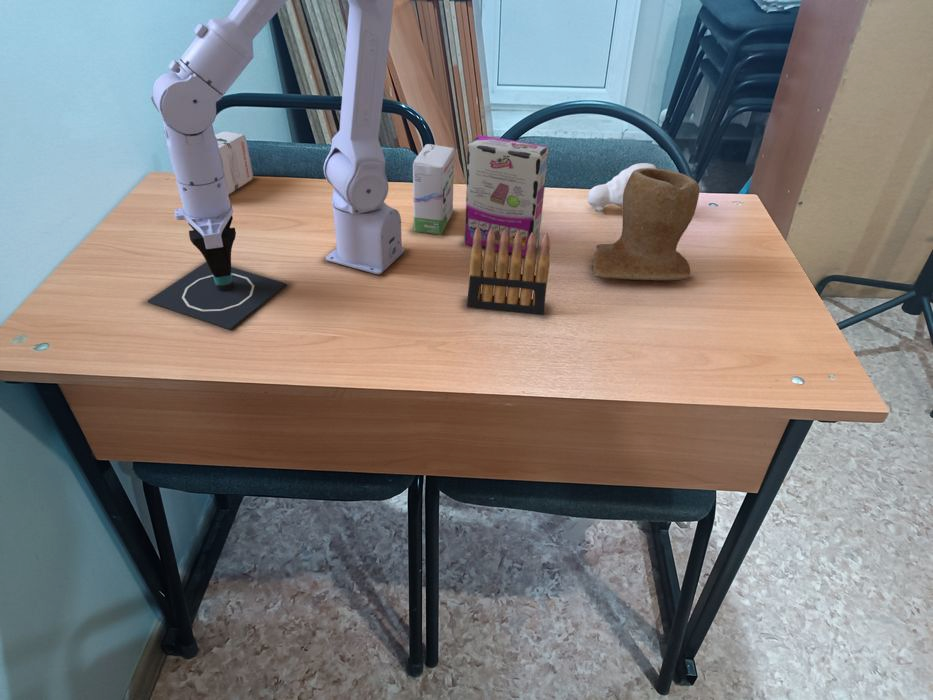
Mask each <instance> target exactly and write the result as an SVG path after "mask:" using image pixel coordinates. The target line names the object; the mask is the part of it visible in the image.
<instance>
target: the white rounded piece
mask: <svg viewBox="0 0 933 700" xmlns="http://www.w3.org/2000/svg"><path fill="white" fill-rule="evenodd" d="M641 168H653V169H657V167H656V165H654V164H653V163H649V162H640V163H634V164H632V165H630V166H629V167H626V168H625V169H623V170H621V171H620V172H619V173H618V174H616V175H615V176H613V177H612V179H611V180H609V181H607V182H606V183H603V184H598V185H594V186H593V187H592V188H590V190H588V193H587V203H588V204H589V205H590V206H591V208H592V210H593V211H598V212H599V213H602V214H603V211H604V208H605V206H608V205H616V206H618V207H623V193H624V189H625V186H626V184H627V181H628V179H629V177H630V176H631V174H632V172H633V171H635V170H637V169H641Z"/></svg>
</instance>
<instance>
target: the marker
mask: <svg viewBox="0 0 933 700" xmlns="http://www.w3.org/2000/svg"><path fill="white" fill-rule="evenodd" d="M213 277H214V275H213ZM214 281H215V285H216V289H217V290H218V291H229V290H231V289H232V288H233V287H234V283H233V279H232V274H230V275H229V276H223V277H214Z"/></svg>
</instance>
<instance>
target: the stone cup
mask: <svg viewBox="0 0 933 700" xmlns="http://www.w3.org/2000/svg"><path fill="white" fill-rule="evenodd" d="M700 190H701V189H700V185H699V183H698V182H697V181H696V180H695V179H694V178H693V177H691V176H689V175H687V174H684V173H681V172H678V171H675V170H670V169H664V168H656V169H653V168H641V169H637V170H635V171H633V172H632V174H631V176H630V177H629V179H628V181H627V184H626V186H625V189H624V193H623V206H622V227H621V234H620V237H619V239H617V240H616V241H614V242H612V243H598V244H596V246H595V247H596V249H595V251H594V253H593V254H594V257H593V265H592V275H593V277H594V278H600V279H601V278H602V279H618V280H636V281H682V280H687V279H689V278H690V276H691V273H692V271H691V266H690V264H689V262H688V260H687V259H686V258H685V256H683V255H682V253H680V252H679V251H677V248H678V244H679V243H680V240H681V238H682V236H683V235H684V233H685V232H686V231H687V229H688V227H689V226H690V224H691V222H692V220H693V218H694V216H695V213H696V210H697V207H698V202H699V196H700Z"/></svg>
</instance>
